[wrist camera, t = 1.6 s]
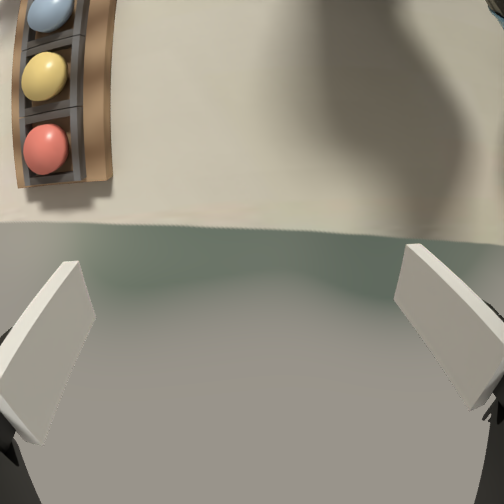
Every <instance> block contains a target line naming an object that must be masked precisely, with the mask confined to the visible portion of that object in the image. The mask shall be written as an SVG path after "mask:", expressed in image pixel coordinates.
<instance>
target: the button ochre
mask: <svg viewBox="0 0 504 504" xmlns="http://www.w3.org/2000/svg"><path fill="white" fill-rule="evenodd" d="M67 78H68V65H67V62H66V60H65V59H64V57H62V56H61V55H59V54H56V53H51V52H42V53H39V54H37V55H36V56H34V57H33V58H32V59H31V60H30V61H29V62H28V64H27V65H26V67H25V69H24V72H23V75H22V81H21V84H22V90H23V92H24V94H25V96H26V97H27V98H28V99H30V100H33V101H45V100H50V99H52V98H54V97H55V96H57V95H58V94H59V93H60V92H61V90H62V89H63V87H64V86H65V84H66V81H67Z"/></svg>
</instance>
